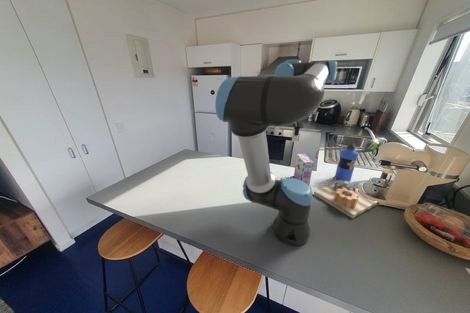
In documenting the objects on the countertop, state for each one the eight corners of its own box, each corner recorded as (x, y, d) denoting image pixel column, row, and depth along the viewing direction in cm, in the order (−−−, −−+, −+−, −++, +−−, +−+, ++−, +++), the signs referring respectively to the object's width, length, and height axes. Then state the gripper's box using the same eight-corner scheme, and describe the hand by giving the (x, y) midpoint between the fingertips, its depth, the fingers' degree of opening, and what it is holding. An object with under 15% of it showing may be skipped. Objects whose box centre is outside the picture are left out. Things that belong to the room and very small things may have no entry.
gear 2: (348, 210, 84) (350, 201, 82) (329, 199, 92) (331, 191, 90) (360, 204, 88) (363, 195, 86) (341, 194, 96) (343, 186, 95)
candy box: (309, 186, 107) (314, 162, 101) (299, 186, 107) (303, 162, 101) (302, 175, 120) (305, 153, 113) (293, 175, 120) (296, 153, 114)
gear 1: (352, 197, 93) (355, 189, 91) (332, 191, 99) (334, 183, 97) (355, 189, 100) (358, 181, 98) (336, 183, 106) (338, 176, 104)
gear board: (352, 218, 82) (356, 204, 79) (313, 194, 100) (316, 182, 97) (379, 203, 92) (384, 190, 89) (340, 183, 110) (343, 172, 107)
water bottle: (354, 180, 113) (364, 144, 103) (343, 183, 110) (353, 146, 100) (341, 174, 121) (350, 139, 111) (331, 176, 118) (339, 141, 108)
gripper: (316, 97, 77) (308, 143, 85) (278, 94, 97) (275, 131, 105) (303, 98, 73) (297, 145, 82) (267, 95, 94) (265, 133, 102)
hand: (284, 137), depth 94 cm, fingers open, 13 cm apart
